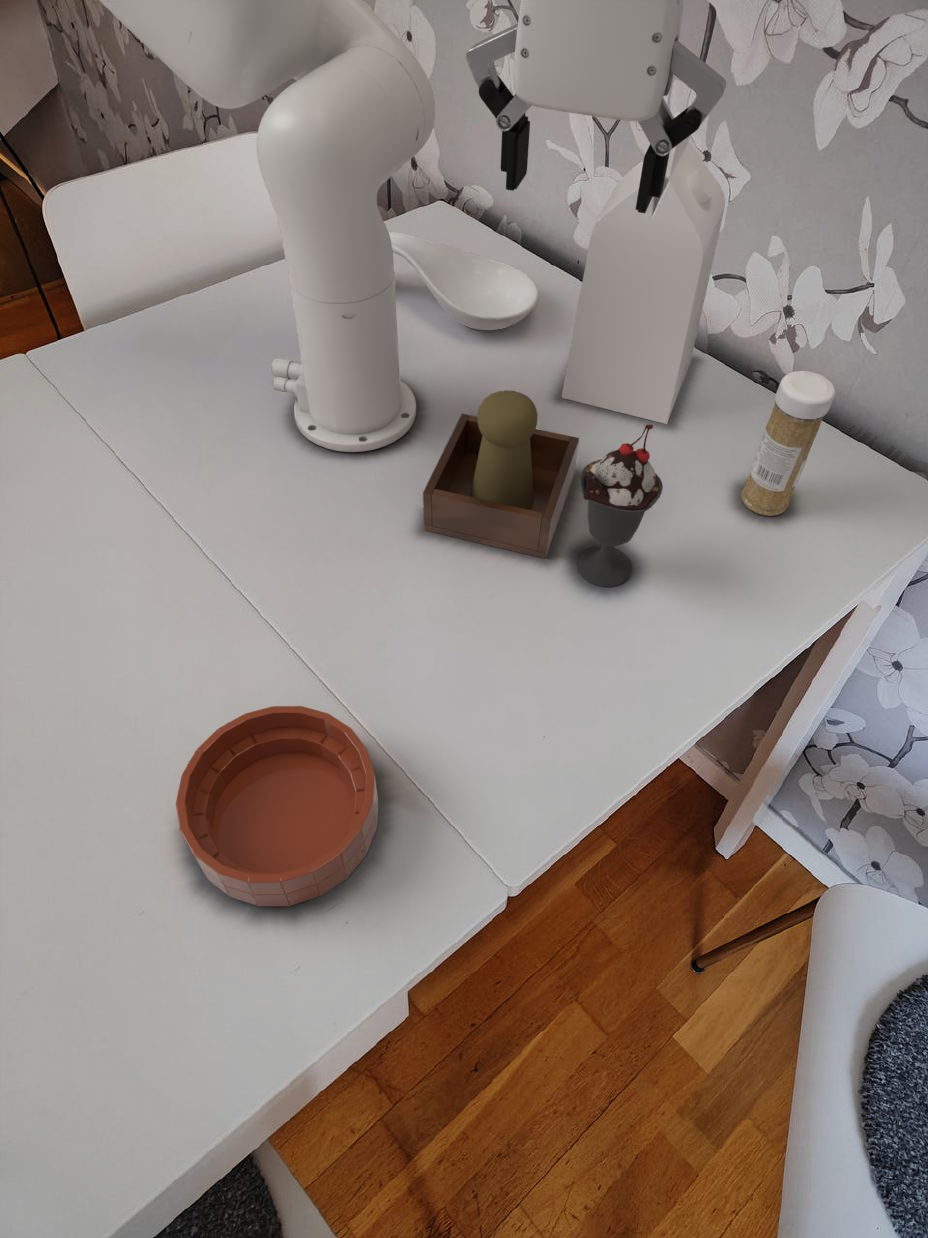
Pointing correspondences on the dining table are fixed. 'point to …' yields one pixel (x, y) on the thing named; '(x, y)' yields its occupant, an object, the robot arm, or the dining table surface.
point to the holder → (493, 521)
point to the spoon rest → (469, 283)
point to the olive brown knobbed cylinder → (505, 450)
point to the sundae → (616, 509)
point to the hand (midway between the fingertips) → (579, 193)
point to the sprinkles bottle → (787, 441)
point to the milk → (645, 290)
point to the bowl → (279, 805)
